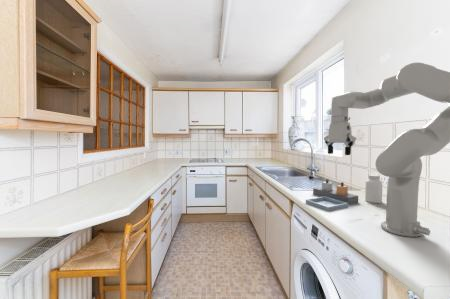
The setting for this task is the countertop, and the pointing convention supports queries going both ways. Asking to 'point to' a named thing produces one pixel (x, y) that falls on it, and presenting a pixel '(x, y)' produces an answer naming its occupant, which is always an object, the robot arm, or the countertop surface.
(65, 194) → the countertop surface
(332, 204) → the tray
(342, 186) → the plug
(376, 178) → the pill bottle
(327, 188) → the twin plug
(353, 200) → the grey two-slot holder
